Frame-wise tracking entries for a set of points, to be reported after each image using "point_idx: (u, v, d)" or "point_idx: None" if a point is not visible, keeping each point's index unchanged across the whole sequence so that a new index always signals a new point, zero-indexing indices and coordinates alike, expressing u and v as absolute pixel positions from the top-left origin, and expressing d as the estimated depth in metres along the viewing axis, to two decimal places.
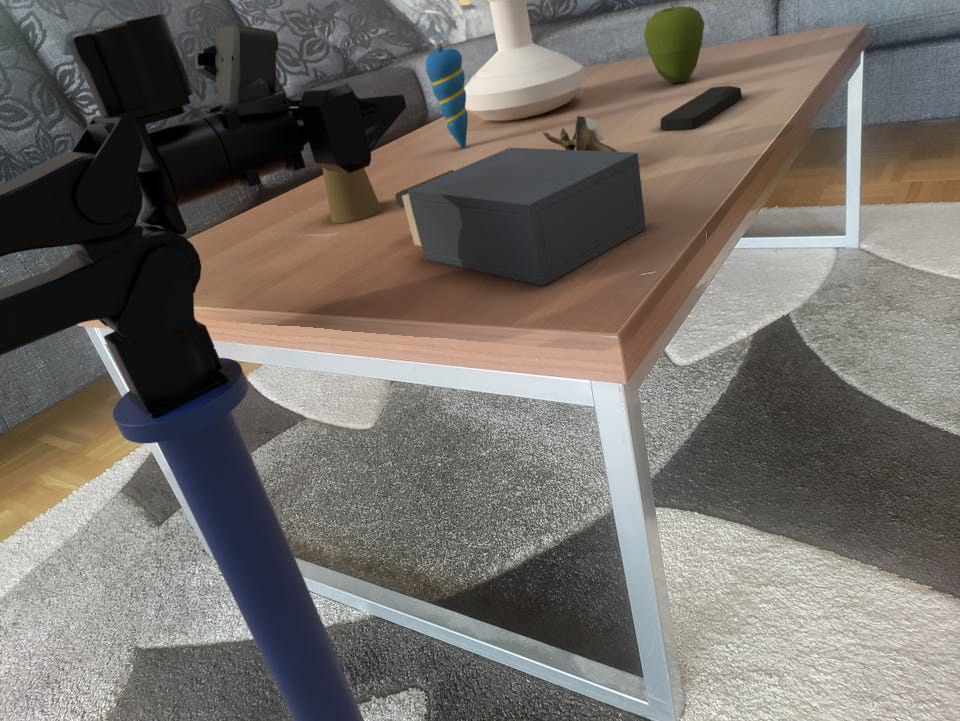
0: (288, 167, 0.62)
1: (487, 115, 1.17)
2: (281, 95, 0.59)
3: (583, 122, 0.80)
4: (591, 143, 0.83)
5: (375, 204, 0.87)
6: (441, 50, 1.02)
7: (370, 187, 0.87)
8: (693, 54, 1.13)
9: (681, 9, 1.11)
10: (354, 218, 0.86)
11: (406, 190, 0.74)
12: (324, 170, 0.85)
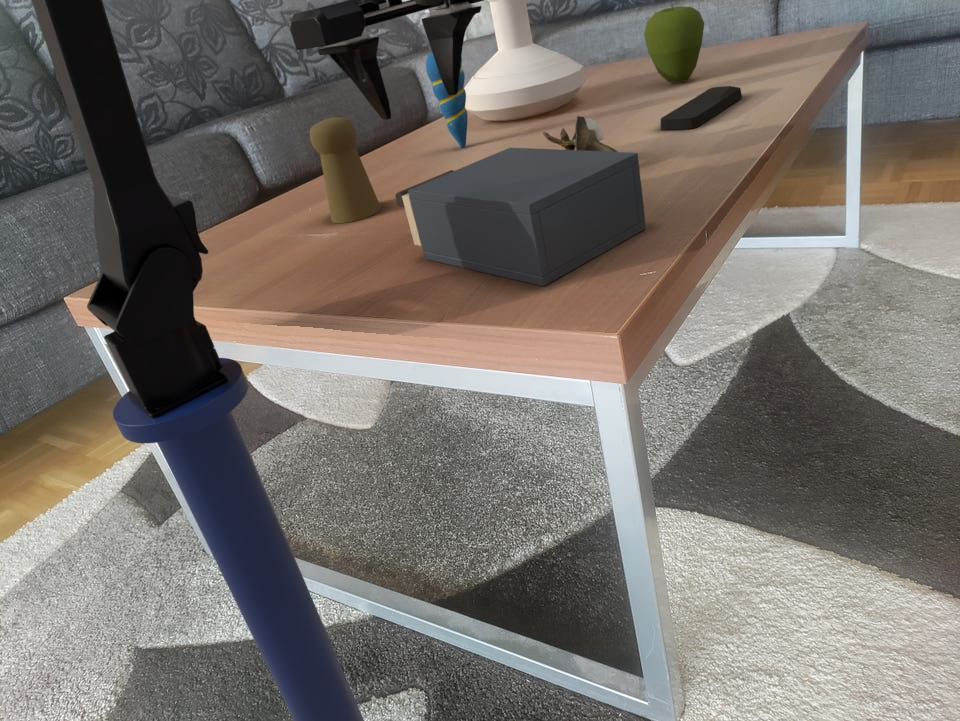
0: None
1: (487, 115, 1.17)
2: None
3: (583, 122, 0.80)
4: (591, 143, 0.83)
5: (375, 204, 0.87)
6: None
7: (370, 187, 0.87)
8: (693, 54, 1.13)
9: (681, 9, 1.11)
10: (354, 218, 0.86)
11: (406, 190, 0.74)
12: (324, 170, 0.85)
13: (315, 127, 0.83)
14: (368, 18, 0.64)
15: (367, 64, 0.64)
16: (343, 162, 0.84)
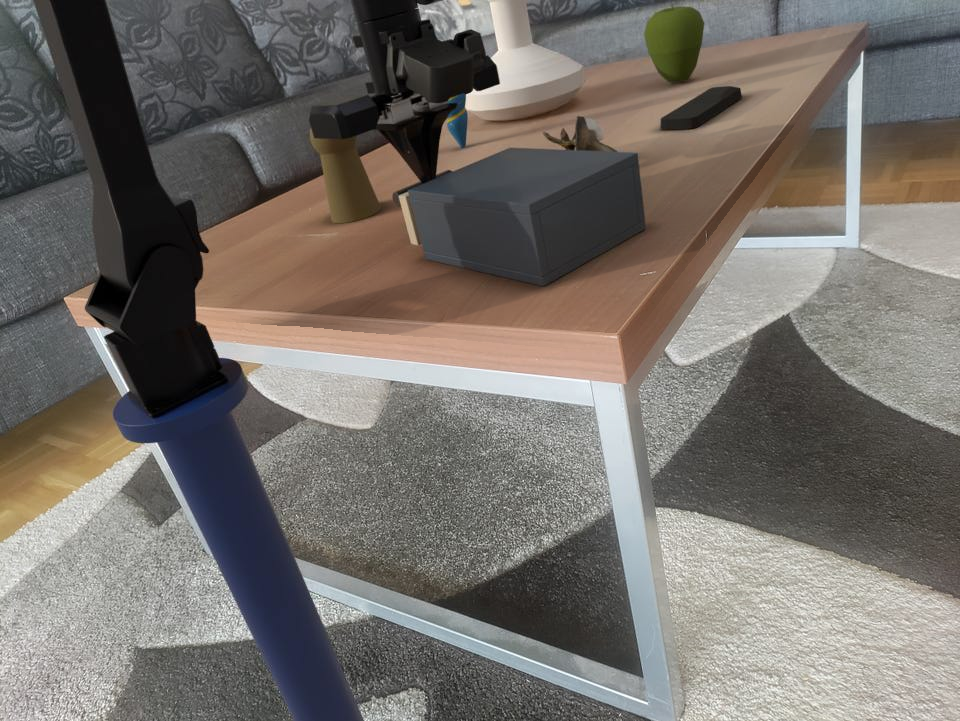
0: None
1: (487, 115, 1.17)
2: (397, 88, 0.67)
3: (583, 122, 0.80)
4: (591, 143, 0.83)
5: (375, 204, 0.87)
6: None
7: (370, 187, 0.87)
8: (693, 54, 1.13)
9: (681, 9, 1.11)
10: (354, 218, 0.86)
11: (403, 190, 0.74)
12: (324, 170, 0.85)
13: None
14: (413, 97, 0.71)
15: (412, 139, 0.71)
16: (343, 162, 0.84)
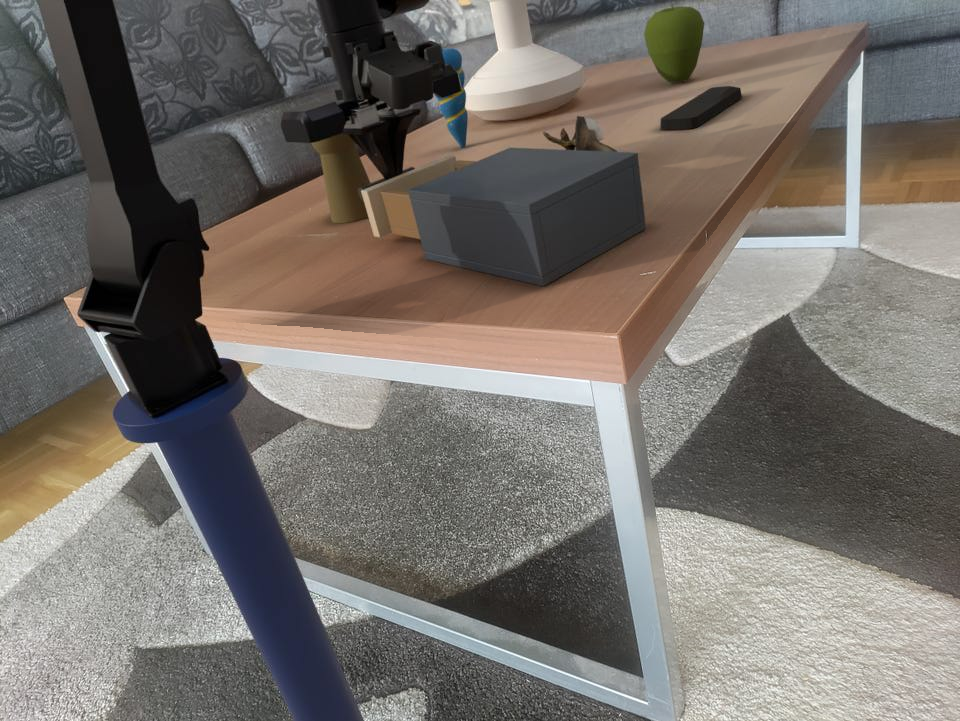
0: None
1: (487, 115, 1.17)
2: (362, 95, 0.71)
3: (583, 122, 0.80)
4: (591, 143, 0.83)
5: None
6: None
7: None
8: (693, 54, 1.13)
9: (681, 9, 1.11)
10: (354, 218, 0.86)
11: (367, 185, 0.79)
12: (324, 170, 0.85)
13: None
14: (379, 103, 0.76)
15: (378, 143, 0.76)
16: (343, 162, 0.84)
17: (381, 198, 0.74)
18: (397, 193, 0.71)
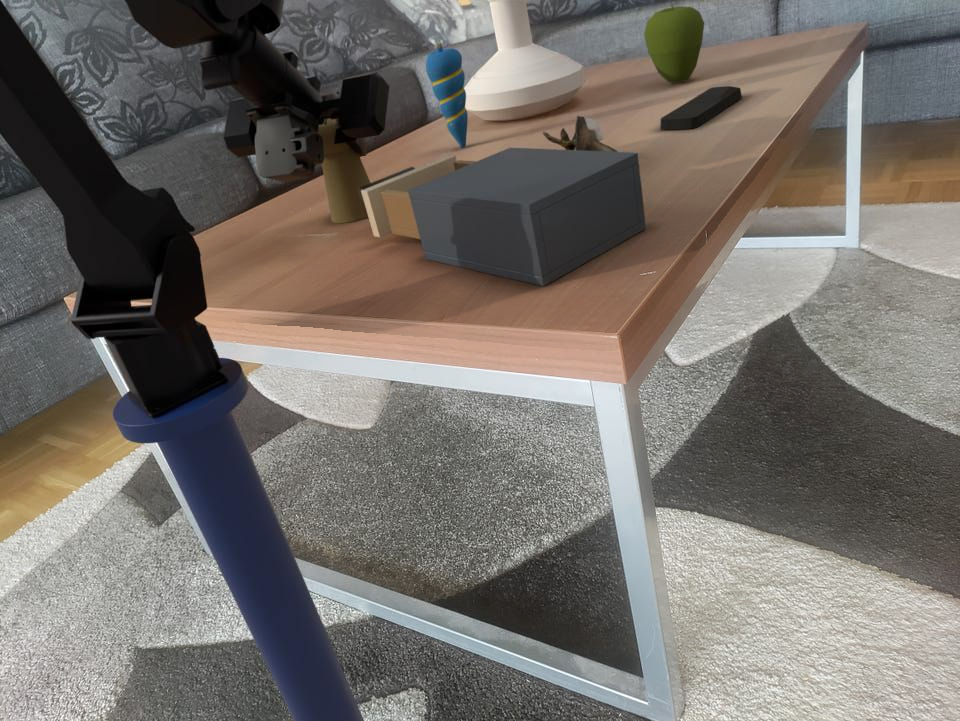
0: None
1: (487, 115, 1.17)
2: None
3: (583, 122, 0.80)
4: (591, 143, 0.83)
5: None
6: (441, 50, 1.02)
7: None
8: (693, 54, 1.13)
9: (681, 9, 1.11)
10: (354, 218, 0.86)
11: (367, 185, 0.79)
12: (324, 170, 0.85)
13: None
14: None
15: None
16: (343, 162, 0.84)
17: (381, 198, 0.74)
18: (397, 193, 0.71)
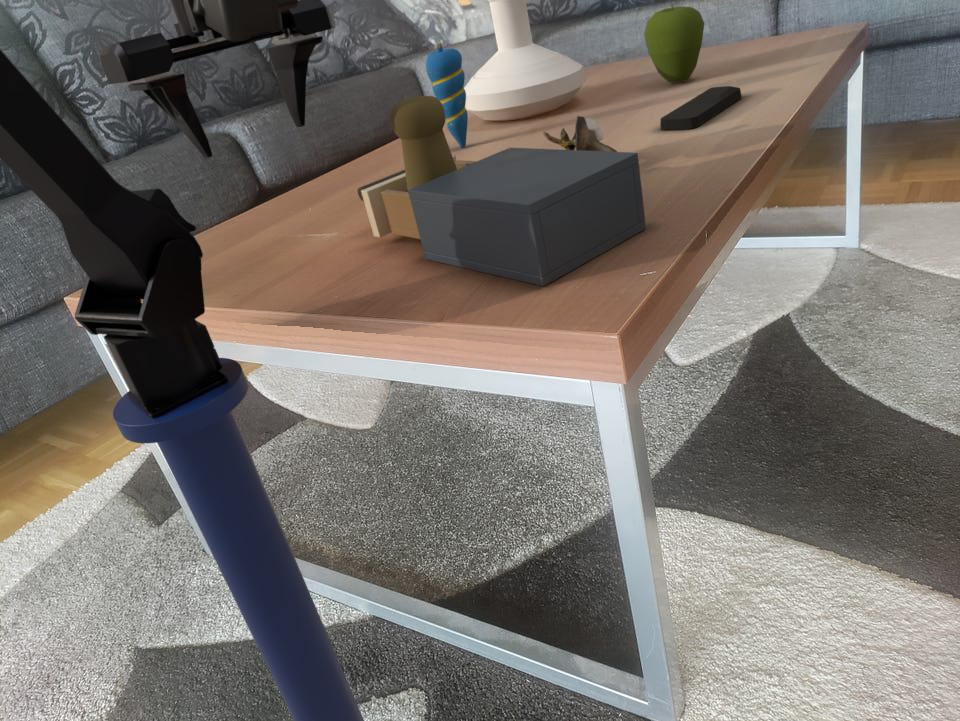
0: None
1: (487, 115, 1.17)
2: (196, 26, 0.59)
3: (583, 122, 0.80)
4: (591, 143, 0.83)
5: None
6: (441, 50, 1.02)
7: None
8: (693, 54, 1.13)
9: (681, 9, 1.11)
10: None
11: (367, 185, 0.79)
12: None
13: (394, 107, 0.70)
14: (178, 53, 0.61)
15: (176, 101, 0.61)
16: (422, 151, 0.70)
17: (381, 198, 0.74)
18: (397, 193, 0.71)
